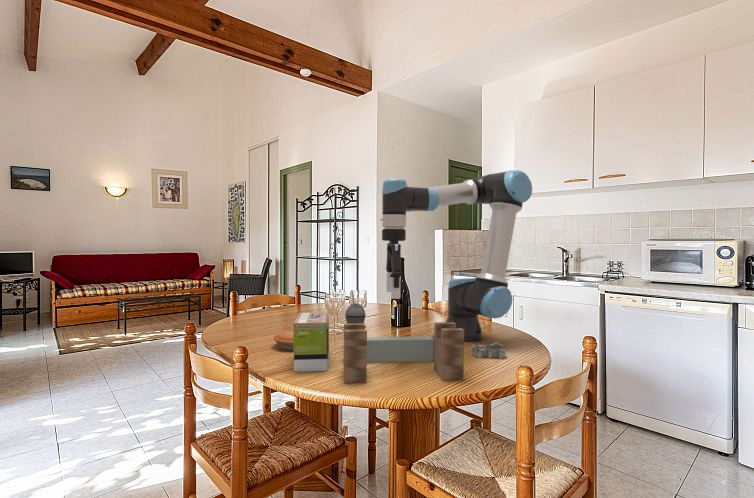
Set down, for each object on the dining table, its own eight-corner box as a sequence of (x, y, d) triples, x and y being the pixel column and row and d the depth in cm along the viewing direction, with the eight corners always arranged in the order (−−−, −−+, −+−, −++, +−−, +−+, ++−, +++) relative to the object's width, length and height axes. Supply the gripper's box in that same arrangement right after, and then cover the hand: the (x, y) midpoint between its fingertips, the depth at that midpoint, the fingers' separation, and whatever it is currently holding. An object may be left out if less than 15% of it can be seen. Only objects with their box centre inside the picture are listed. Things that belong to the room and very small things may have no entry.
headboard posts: (453, 368, 125) (454, 322, 124) (463, 380, 115) (464, 330, 114) (343, 370, 121) (344, 323, 121) (344, 382, 112) (344, 331, 111)
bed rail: (442, 357, 136) (442, 336, 135) (445, 361, 132) (445, 339, 131) (344, 359, 132) (344, 337, 132) (344, 363, 128) (344, 340, 128)
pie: (263, 348, 143) (263, 334, 143) (292, 338, 157) (292, 325, 157) (299, 355, 136) (299, 340, 136) (326, 344, 150) (326, 330, 150)
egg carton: (502, 353, 142) (502, 341, 141) (506, 360, 134) (506, 347, 134) (470, 351, 143) (471, 340, 143) (472, 358, 136) (473, 346, 135)
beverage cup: (362, 351, 141) (363, 293, 141) (342, 349, 143) (342, 292, 142) (367, 345, 149) (368, 290, 148) (347, 344, 150) (348, 289, 149)
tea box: (298, 356, 135) (298, 311, 134) (329, 356, 135) (329, 311, 135) (292, 372, 120) (293, 321, 119) (327, 371, 120) (328, 321, 120)
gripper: (378, 228, 143) (378, 289, 144) (386, 227, 118) (385, 301, 119) (400, 228, 144) (399, 289, 145) (412, 228, 119) (411, 301, 120)
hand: (393, 295), depth 132 cm, fingers open, 13 cm apart
